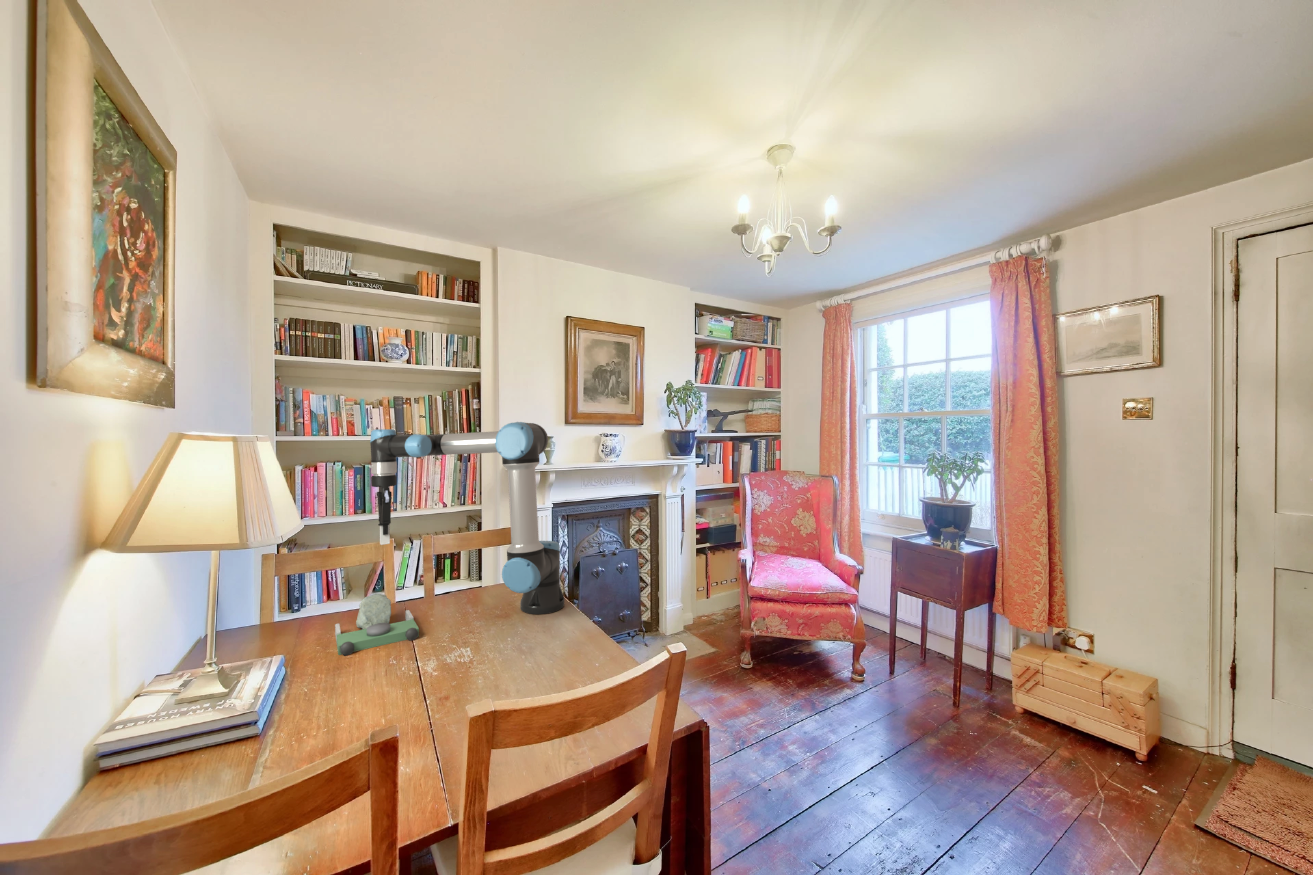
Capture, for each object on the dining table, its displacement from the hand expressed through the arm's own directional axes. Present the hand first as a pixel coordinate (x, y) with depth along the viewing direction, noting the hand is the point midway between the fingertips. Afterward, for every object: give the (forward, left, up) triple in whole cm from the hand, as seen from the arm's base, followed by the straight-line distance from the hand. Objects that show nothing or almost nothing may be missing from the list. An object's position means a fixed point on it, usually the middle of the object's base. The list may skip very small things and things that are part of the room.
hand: (384, 543), depth 161 cm
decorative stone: (+4, +13, -24) cm, 27 cm away
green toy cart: (+4, +21, -23) cm, 31 cm away
